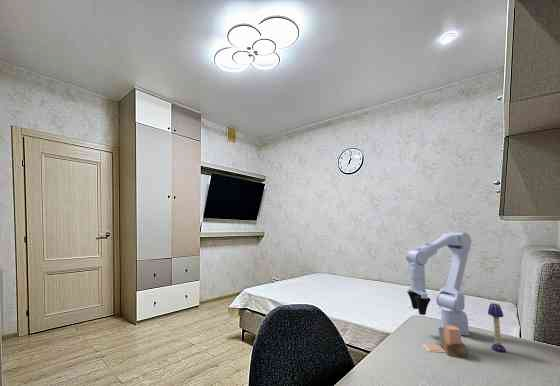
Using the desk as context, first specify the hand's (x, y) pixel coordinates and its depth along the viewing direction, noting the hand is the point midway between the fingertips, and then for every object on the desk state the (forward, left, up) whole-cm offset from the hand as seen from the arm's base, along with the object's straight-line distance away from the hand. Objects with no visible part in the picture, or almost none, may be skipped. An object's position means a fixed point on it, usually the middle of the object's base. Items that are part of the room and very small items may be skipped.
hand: (418, 311), depth 113 cm
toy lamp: (-25, +8, -10) cm, 28 cm away
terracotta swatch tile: (-1, +11, -10) cm, 15 cm away
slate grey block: (-9, +4, -10) cm, 14 cm away
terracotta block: (-7, +13, -6) cm, 16 cm away
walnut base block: (-7, +13, -10) cm, 18 cm away
